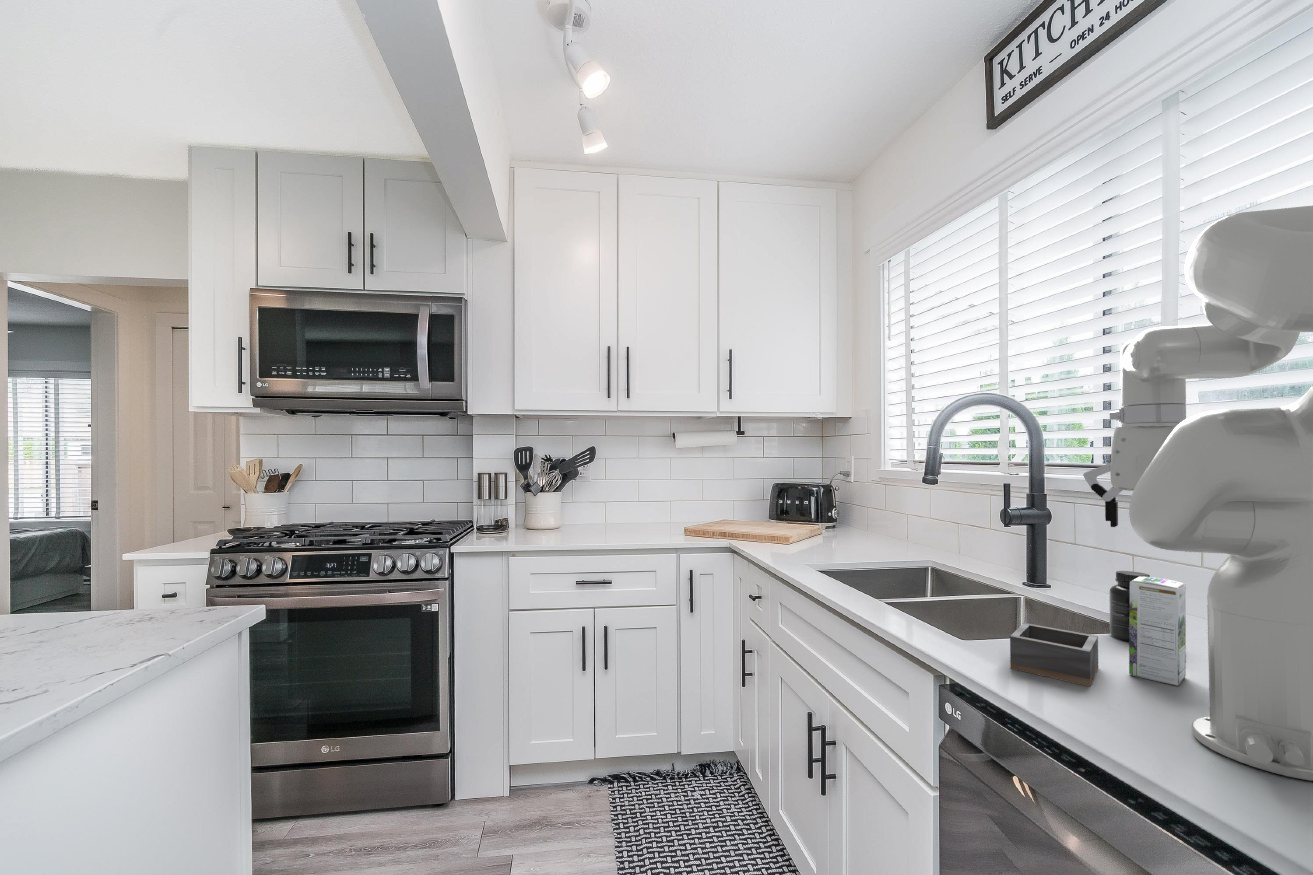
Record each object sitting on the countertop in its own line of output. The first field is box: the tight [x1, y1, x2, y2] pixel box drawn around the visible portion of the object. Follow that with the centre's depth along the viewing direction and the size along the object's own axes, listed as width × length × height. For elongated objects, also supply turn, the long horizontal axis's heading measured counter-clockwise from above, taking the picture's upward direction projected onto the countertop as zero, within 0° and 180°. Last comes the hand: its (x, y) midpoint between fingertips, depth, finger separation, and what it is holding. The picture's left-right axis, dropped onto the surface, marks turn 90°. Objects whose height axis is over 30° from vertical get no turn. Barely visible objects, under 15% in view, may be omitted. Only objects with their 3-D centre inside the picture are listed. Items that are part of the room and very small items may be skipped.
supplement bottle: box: [1108, 570, 1151, 642], centre depth 104 cm, size 7×7×12 cm
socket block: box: [1009, 622, 1099, 687], centre depth 89 cm, size 10×10×5 cm
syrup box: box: [1128, 576, 1187, 686], centre depth 86 cm, size 6×6×14 cm
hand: (1154, 529), depth 87 cm, fingers open, 9 cm apart
